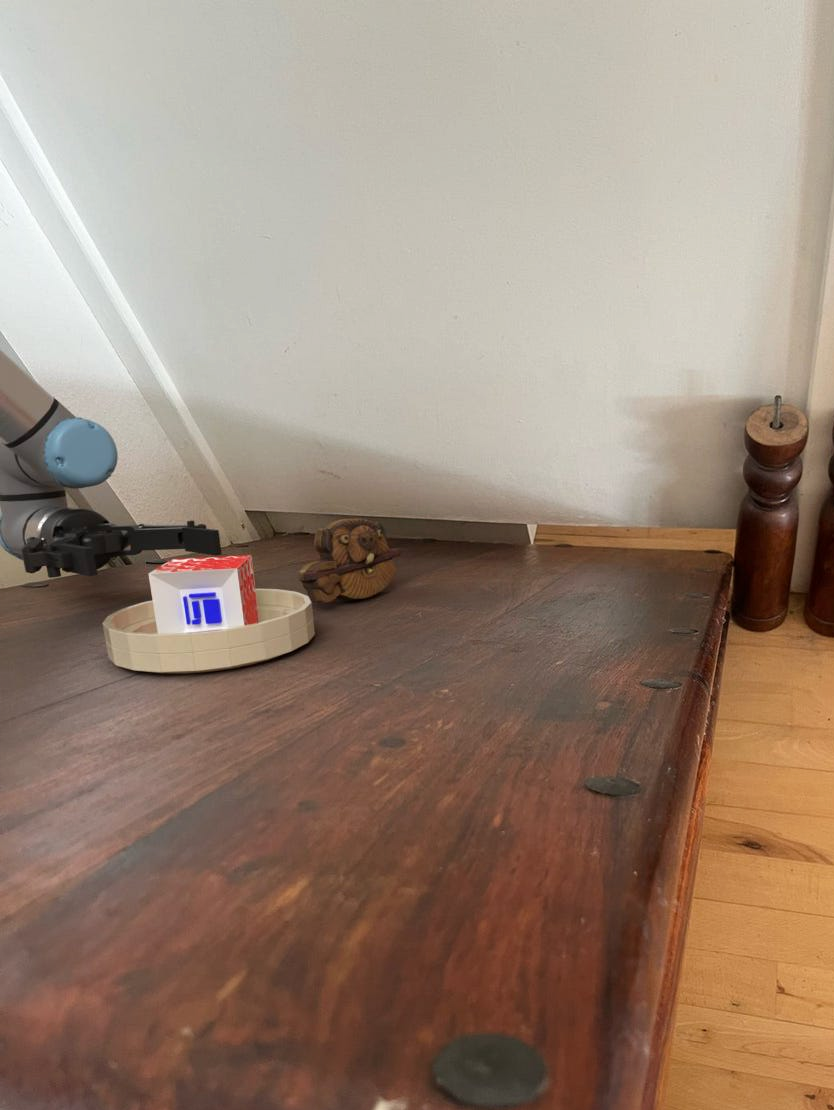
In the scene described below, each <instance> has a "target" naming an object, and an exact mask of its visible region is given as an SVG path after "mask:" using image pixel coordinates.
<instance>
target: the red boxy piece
mask: <svg viewBox="0 0 834 1110" xmlns="http://www.w3.org/2000/svg"><path fill="white" fill-rule="evenodd" d="M253 564H254V563H253V557H252V554H246V555H227V556H226V555H225V556H210V557H209V556H208V557H194V558H193V557H191V558H189V557H188V558H174V559H170V560H168V561H166V562H165V563H163V564H161V565H160V566H158V567H157V568H155V569H153V570H151V571H150V572H148V574H147V575H148V581H149V588H150V593H151V598H152V600H153V606H154V613H155V619H156V626H157V632H158V634H159V633H185V632H199V631H208V630H218V629H227V628H232V627H238V626H243V625H249V624H254V623H259V614H258V606H257V598H256V589H257V588H256V583H255V574H254V565H253ZM152 600H151V601H152Z"/></svg>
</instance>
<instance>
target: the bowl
mask: <svg viewBox="0 0 834 1110" xmlns="http://www.w3.org/2000/svg"><path fill="white" fill-rule="evenodd" d="M255 589H256V598H257V606H258V614H259V623H254V624H249V625H243V626H238V627H232V628H227V629H218V630H208V631H199V632H185V633H159V634H158V632H157V626H156V619H155V613H154V606H153V600H148V601H147V600H146V601H143V602H140V603H136V604H133V605H130V606H127V607H124V608H121V609H119V610H117V611H114V612H112V613H111V614H108V615H107V616H106V618H105V619H104V620H103V622H102V628H103V629H102V630H103V634H104V640H105V647H106V651H107V657H108V659H109V660H110V661H111V662H112V664H114V666H117V667H120V668H123V669H128V670H131V671H135V672H136V671H137V672H146V673H147V672H148V673H156V674H169V675H170V674H171V675H173V674H174V675H175V674H176V675H177V674H178V675H179V674H181V675H182V674H184V675H185V674H198V673H199V674H200V673H210V672H219V671H225V670H232V669H237V668H243V667H248V666H251V665H255V664H259V663H264V662H267V661H270V660H273V659H275V658H278V657H280V656H283V655H285V654H288V653H290V652H293V651H295V650H297V649H299V648H300V647H302V646H304V645H306V644H308V643H309V642H310V641H311V640H312V638H313V637H314V636H315V635H316V634H315V633H316V632H315V631H316V630H315V621H314V612H313V603H312V602H311V600H310V598H309V596H308V595H306V594H303V593H301V592H298V591H293V590H286V589H279V588H255Z"/></svg>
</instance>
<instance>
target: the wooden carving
mask: <svg viewBox="0 0 834 1110" xmlns="http://www.w3.org/2000/svg"><path fill="white" fill-rule="evenodd" d="M313 545H314V549H315V551H316V552H317V553H318V555H319V558H320V561H319V560H317V561H316V560H315V561H310V562H308V563H306V564H304V565H303V566H302V567H301V569H300V570H298V572H297V578H298V581H299V582H301V584H302V587H303V588H304V590H305V591H306V593H307V596H309V598H310V600H311V602H312V604H317V603H318V604H319V603H330V602H332V601H334V600H335V599H337V600H341V601H342V600H343V601H350V600H363V599H367V598H370V597H373V596H375V595H377V594H378V593H380V592H382V591H384V590H385V589H386V588H387V587H388V586H389V585H390V584H391V582H392V581H393V580H394V579H395V577H396V576H397V574H398V568H396V567H395V566H394V562H393V560H392V559H395V558H398V557H399V556H401V555H402V554H403V549H402V548H400V547H397V548H389V545H388V542H387V532H386V529H385V527H384V526H383V524H382V522H380V521H376V522H374V521H372V520H368V519H365V518H342V519H339V520H334V521H333V522H330V523H329V524H327V526H325V527H324V528H317V529H316V530H315V534H314V542H313Z"/></svg>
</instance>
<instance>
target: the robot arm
mask: <svg viewBox="0 0 834 1110" xmlns="http://www.w3.org/2000/svg"><path fill="white" fill-rule="evenodd" d="M118 455H119V454H118V448H117V445H116V442H115V441H114V438H113V436H112V435H111V434H110V432H109V431H108V430H107V429H106V428H105V427H103V426H102V425H101V424H99V423H97V422H95V421H93V420H88V419H86V418H83V417H77V416H75V414H73V413H72V412H71V411H70V410H69V409H68V408H67V407H65V405H64V404H62V403H61V402H60V401H59V400H57V398H55V397H54V396H53V395H51V394H50V392H48V391H47V390H46V389H45V388H44V387H43V386H42V385H41V384H40V383H39V382H38V381H37V380H36V379H34V378H33V377H32V376H31V375H30V374H29V373H28V372H26V370H25V369H23V368H22V367H21V366H20V365H19V364H18V363H17V362H16V361H15V360H14V359H13V358H11V357H10V356H9V355H8V354H7V353H6V352H5V351H4V350H3V349H2V348H0V512H1V513H0V546H1V547H2V549H3V550H4V551H5V552H7V553H8V554H9V555H11V556H13V557H15V558H17V559H19V560H21V561H22V562H23V566H24V571H25V573H28V574H36V573H37V572H39V571H40V570H41V569H42V568H43V567H45V568H46V572H47V578H50V579H51V578H60V577H62V573H61V572H64V573H72V574H77V575H81V576H86V577H95V576H98V570H100V569H102V568H103V567H104V566H106V565H107V564H108V563H109V562H110V561H111V559H115V558H118V557H121V556H122V557H124V556H136V555H139V554H141V553H142V551H144V552H145V551H169V550H184V551H185V552H189V553H195V554H202V555H203V554H204V555H210V556H221V555H222V546H221V537H220V532H219V529H213V528H207V524H205V523H198V524H196V523H195V520H194V519H191V520H188V521H186V524H145V523H139V524H115V523H113V522H109V519H107V518H106V517H105V516H104V515H103V514H101V513H99V512H97V511H96V510H93V509H89V508H80V507H73V506H69V504H68V499H67V492H66V489H65V488H67V489H76V490H77V489H85V488H89V487H96V486H97V485H100V484H102V483H105V482H106V481H108V480H109V478H111V477H112V475H113V474H114V472H115V469H116V467H117V464H118V460H119V459H118V457H119V456H118ZM127 548H130V549H127ZM61 570H62V571H61Z"/></svg>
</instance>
